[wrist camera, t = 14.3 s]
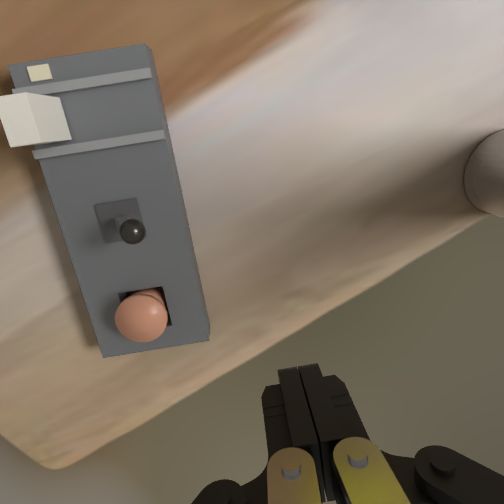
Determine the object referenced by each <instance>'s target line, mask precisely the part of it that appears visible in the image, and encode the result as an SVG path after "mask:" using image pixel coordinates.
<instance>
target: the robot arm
mask: <svg viewBox="0 0 504 504" xmlns="http://www.w3.org/2000/svg"><path fill="white" fill-rule="evenodd" d="M464 186H465V191H466V194H467V196H468V198H469V200H470V201H471V203H473V204H474V205H475V206H476V207H477V208H478V209H480V210H482V211H484V212H487V213H490V214H493V215H496V216H499V217H502V218H504V130H501V131H498V132H495V133H494V134H492V135H490V136H489V137H487V138H486V139H485V140H484V141H482V142H481V143H480V144H479V145H478V147H477V148H476V149H475V150H474V152H473V153H472V155H471V157H470V158H469V160H468V163H467V166H466V169H465V175H464ZM278 377H279V383H280V384H277V385H271V386H266V387H265V390H264V392H263V394H262V397H261V398H262V406H263V414H264V422H265V431H266V438H267V446H268V463H267V465H266V467H265V469H264V471H263V472H262V473H261V474H260V475H259V476H258V477H257V478H255V479H254V480H252V481H250V482H249V483H247V484H245V485H242V486H240V485H239V484H238V483H236V482H234V481H232V480H225V479H224V480H218V481H215V482H212V483H211V484H209V485H207V486H206V487H205V488H204V489H203V490H202V491H201V492H200V494H199V495H198V496H197V497H196V499H195V500H194V501H193V502H192V504H322V503H323V502H325V494H324V490H325V493H326V497H327V501H334V500H336V503H337V504H504V476H502V475H501V474H498V473H497V472H495V471H492V470H491V469H489V468H487V467H485V466H483V465H481V464H479V463H477V462H475V461H473V460H471V459H469V458H467V457H465V456H463V455H462V454H459V453H458V452H456V451H454V450H452V449H449V448H446V447H442V446H427V447H424V448H422V449H420V450H419V451H418V452H417V454H416V455H415V458H409V457H401V456H394V455H391V454H388V453H385V452H383V451H382V450H380V449H379V448H378V447H377V445H376V444H374V443H373V442H371V440H370V439H369V437H368V435H367V432H366V430H365V428H364V426H363V423H362V421H361V419H360V417H359V415H358V412H357V410H356V409H355V406H354V404H353V401H352V399H351V397H350V395H349V392H348V390H347V388H346V386H345V383H344V382H342V381H341V380H340V379H339V378H338V377H337V376H335V375H331V376H325V377H323V376H322V373H321V371H320V368H319V366H318V364H317V363H315V364H309V365H304V366H298V369H297V367H292V368H285V369H279V370H278Z"/></svg>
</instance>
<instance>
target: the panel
mask: <svg viewBox="0 0 504 504" xmlns="http://www.w3.org/2000/svg"><path fill="white" fill-rule="evenodd" d="M8 67H9V70H10V73H11V77H12V80H13V83H14V86H15V89H12V92H13V94H18V93H24V92H27V93H33V94H40V95H46V96H52V97H59V98H60V101H61V104H62V108H63V111H64V114H65V118H66V121H67V125H68V128H69V131H70V135H71V138H72V140H66V141H59V142H53V143H47V144H38V145H34V147H35V150H32V153H33V156H34V159H39V162H40V166H41V169H42V172H43V175H44V178H45V181H46V184H47V187H48V190H49V193H50V196H51V199H52V202H53V205H54V209H55V212H56V215H57V218H58V221H59V224H60V227H61V230H62V233H63V236H64V239H65V242H66V245H67V248H68V252H69V255H70V258H71V261H72V264H73V267H74V270H75V273H76V276H77V279H78V282H79V285H80V288H81V291H82V295H83V298H84V301H85V304H86V307H87V310H88V313H89V316H90V319H91V322H92V325H93V328H94V331H95V334H96V337H97V341H98V344H99V347H100V350H101V353H102V356H103V358H106V357H112V356H118V355H124V354H130V353H136V352H142V351H149V350H155V349H161V348H167V347H173V346H179V345H185V344H191V343H197V342H203V341H209V335H210V324H209V319H208V314H207V310H206V305H205V300H204V295H203V291H202V286H201V281H200V276H199V272H198V267H197V262H196V258H195V253H194V248H193V243H192V239H191V234H190V229H189V224H188V220H187V215H186V210H185V205H184V201H183V196H182V191H181V187H180V182H179V177H178V172H177V168H176V163H175V158H174V153H173V149H172V144H171V139H170V135H169V130H168V125H167V120H166V116H165V111H164V106H163V101H162V97H161V92H160V87H159V82H158V78H157V73H156V68H155V64H154V59H153V54H152V50H151V49H150V48H149V47H148V46H147V45H146V44H139V45H132V46H126V47H120V48H113V49H107V50H100V51H94V52H88V53H81V54H75V55H69V56H62V57H56V58H49V59H43V60H37V61H30V62H24V63H18V64H11V65H8ZM124 215H127V216H129V217H130V218H131V219H137V220H139V221H141V222H142V223H143V224H144V226H145V229H146V235H145V238H144V239H143V240H142V241H141V242H140V243H138V244H127V243H125V242H124V241H123V240H122V239H121V237H120V235H119V231H118V230H117V228H116V224H115V220H114V218H116V217H120V216H124ZM160 286H163V290H164V294H165V298H166V302H167V306H168V310H169V314H168V321H167V324H166V328H165V330H164V332H163V333H162V334H161V335H160V336H159V337H158V338H156V339H155V340H152V341H149V342H135V341H132V340H130V339H128V338H126V337H125V336H123V335H122V334H121V333H120V332H119V330H118V328H117V326H116V323H115V313H116V310H117V309H118V307H119V305H120V304H121V302H122V301H123V300H124V299H125V298H127V297H129V295H128V292H129V291H135V290H141V289H147V288H154V287H160Z"/></svg>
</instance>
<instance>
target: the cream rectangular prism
mask: <svg viewBox="0 0 504 504" xmlns="http://www.w3.org/2000/svg"><path fill="white" fill-rule="evenodd" d="M0 119H1V122H2V124H3V127H4V130H5V133H6V136H7V139H8V142H9V145H10V147H19V146H29V145H38V144H47V143H53V142H59V141H66V140H72V138H71V135H70V131H69V128H68V125H67V121H66V118H65V114H64V111H63V108H62V104H61V101H60V98H59V97H52V96H46V95H40V94H33V93H27V92H24V93H18V94H11V95H5V96H0Z"/></svg>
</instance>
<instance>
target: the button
mask: <svg viewBox="0 0 504 504" xmlns="http://www.w3.org/2000/svg"><path fill="white" fill-rule="evenodd" d="M166 306H167V302H166V298H165V294H164V290H163V289H162V288H161V287H154V288H147V289H141V290H135V291H134V292H133V294H132V295H131V296H129V297H127V298H125V299H124V300H123V301H122V302H121V304H120V305H119V307H118V309H117V310H116V313H115V323H116V326H117V328H118V330H119V332H120V333H121V334H122V335H123V336H125V337H126V338H128V339H130V340H132V341H135V342H149V341H152V340H155V339H156V338H158V337H159V336H160V335H161V334H162V333H163V332H164V330H165V328H166V324H167V321H168V314H167V310H166Z"/></svg>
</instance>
